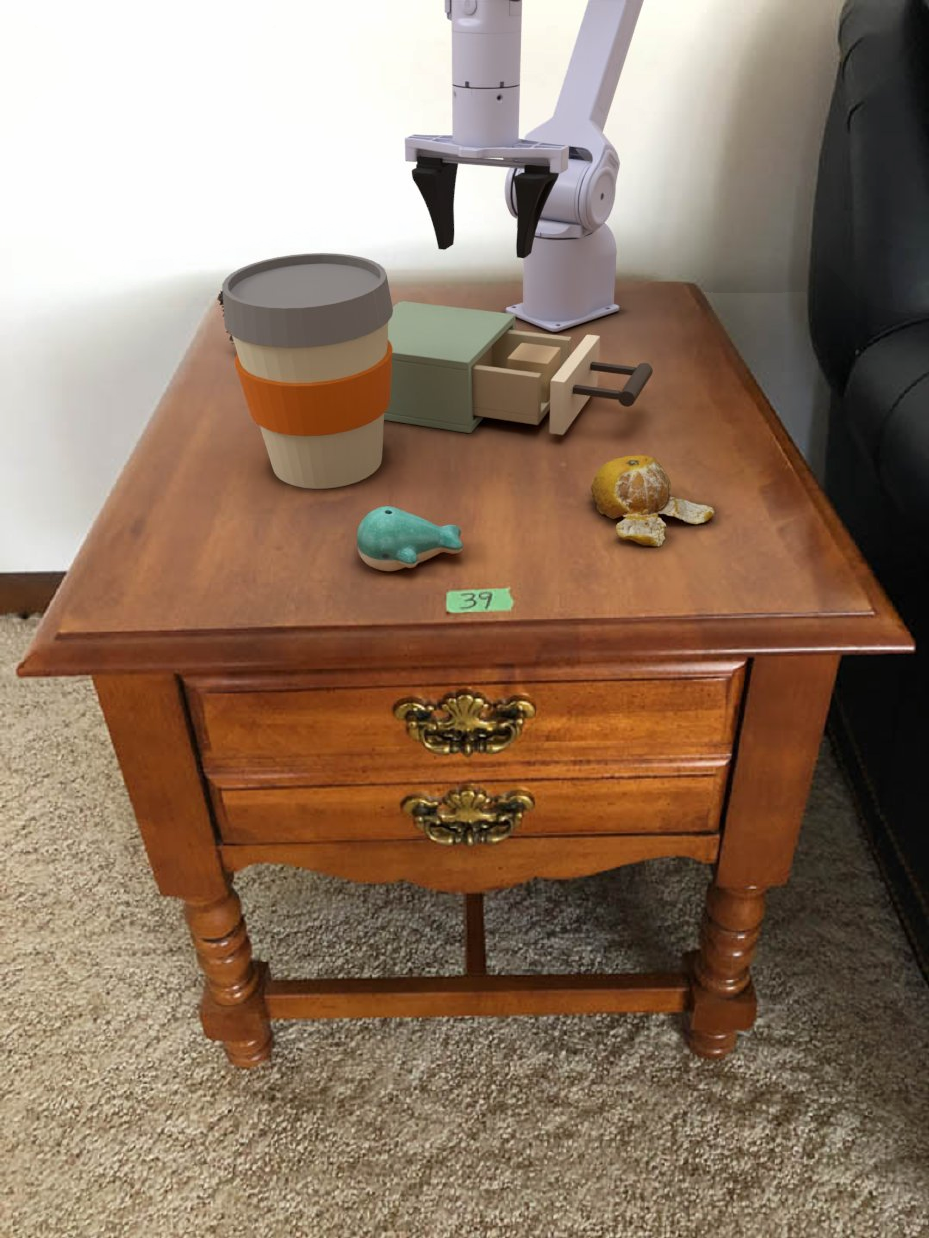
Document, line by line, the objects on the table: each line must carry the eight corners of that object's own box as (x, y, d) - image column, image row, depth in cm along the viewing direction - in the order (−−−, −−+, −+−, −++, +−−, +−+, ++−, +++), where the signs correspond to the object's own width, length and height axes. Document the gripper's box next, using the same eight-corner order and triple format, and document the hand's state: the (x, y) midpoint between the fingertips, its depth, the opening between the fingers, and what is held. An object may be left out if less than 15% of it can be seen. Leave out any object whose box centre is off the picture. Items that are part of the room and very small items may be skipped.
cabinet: (515, 381, 96) (515, 314, 92) (470, 433, 88) (468, 362, 84) (405, 365, 100) (400, 300, 96) (351, 415, 91) (343, 346, 87)
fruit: (637, 555, 72) (641, 509, 70) (561, 507, 77) (563, 463, 75) (721, 517, 76) (727, 473, 73) (643, 474, 81) (647, 431, 79)
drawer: (655, 394, 91) (660, 343, 88) (625, 445, 83) (629, 390, 80) (489, 371, 96) (488, 322, 93) (447, 417, 88) (444, 365, 85)
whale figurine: (360, 537, 75) (355, 491, 73) (461, 532, 75) (459, 486, 73) (357, 582, 70) (352, 535, 68) (465, 577, 70) (463, 529, 68)
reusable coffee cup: (256, 432, 89) (226, 257, 80) (401, 422, 90) (387, 247, 81) (244, 506, 79) (208, 315, 70) (407, 494, 80) (393, 303, 71)
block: (560, 386, 90) (561, 347, 88) (547, 403, 88) (547, 363, 85) (521, 381, 91) (521, 342, 89) (507, 397, 89) (506, 358, 87)
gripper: (387, 86, 85) (393, 254, 93) (553, 95, 81) (546, 271, 89) (421, 76, 91) (425, 235, 99) (579, 84, 86) (570, 250, 94)
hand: (484, 251), depth 94 cm, fingers open, 7 cm apart
